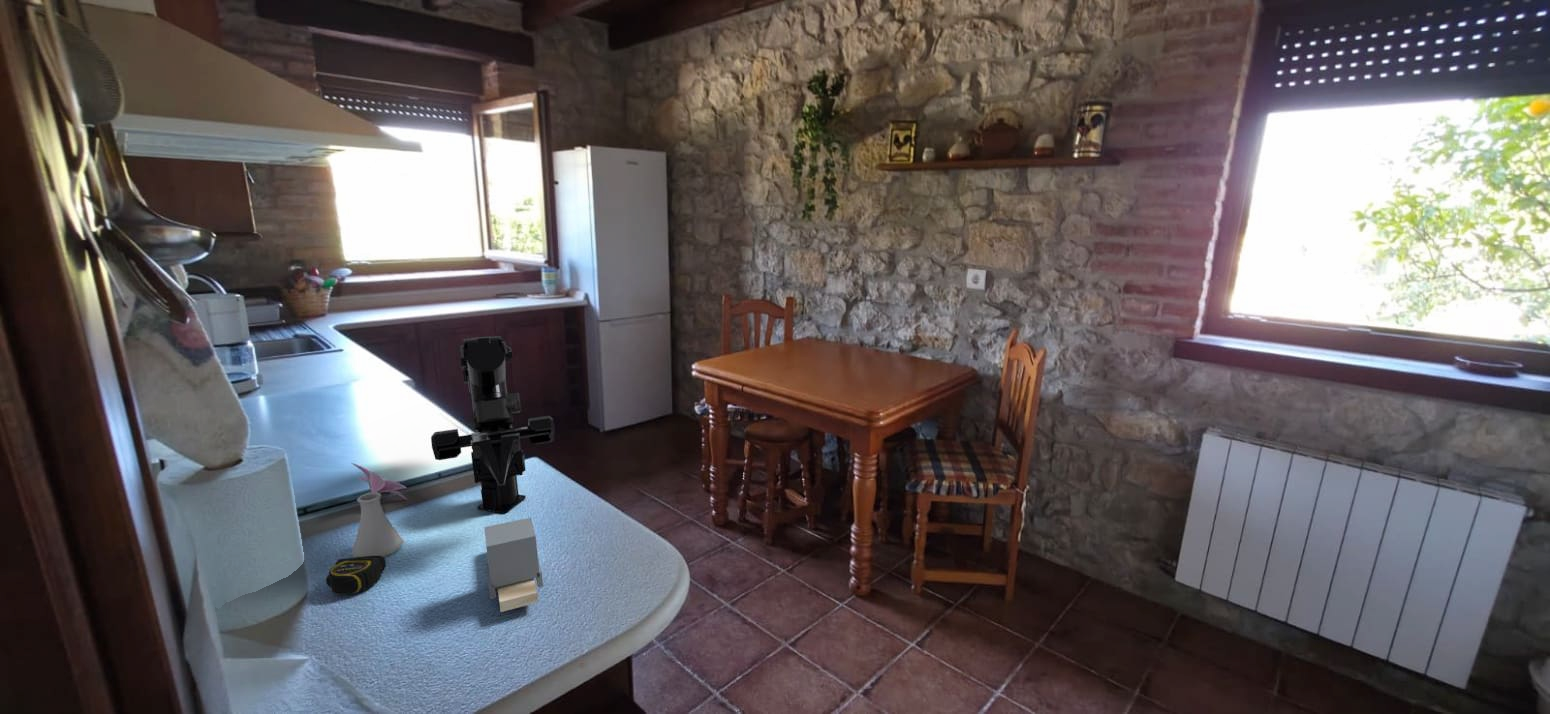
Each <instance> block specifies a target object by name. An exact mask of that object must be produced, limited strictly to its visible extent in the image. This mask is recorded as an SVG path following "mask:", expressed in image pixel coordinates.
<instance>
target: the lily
mask: <svg viewBox="0 0 1550 714" xmlns="http://www.w3.org/2000/svg"><path fill="white" fill-rule="evenodd" d="M351 464H352V465H353V466H355V467H356V468H357V469H358V470H360V471H361V472H362V473H363V474H364V475H365V476H366V477H365V476H359V477H358V479H359V480H361V481H364V482H367V483H368V485H369V488H370V492H378V493H380V494H381V493H387V492H391V493H392V494H395V495H396V496H399V497H401V498H403V500H406V501H407V500H408V499H407V498H406V497H405V495H403V494H402V493H400V492H399V491H397V490H402V489H408V487H407V486H405V485H403V484H401V483H399V482H397V481H395V480H391V479H388V478H387V477H388V476H387V477H386V476H382V477H381V476H380V475H379V474H377V473H376V472H371V471H370V470H368V469H367V468H365V467H363V466H362V465H358V464H356V463H354V462H353V463H352V462H351ZM384 477H385V478H384ZM391 493H390V494H391Z"/></svg>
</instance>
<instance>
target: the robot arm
mask: <svg viewBox="0 0 1550 714" xmlns="http://www.w3.org/2000/svg"><path fill="white" fill-rule="evenodd" d="M459 352H460V362H461V368H462V375H463V382H464V383H463V384H468V392H469V393H470V395H471V403H472V410H473V414H472V415H473V416H472V417H473V425H474V431H475V432H472V433H470V434H465V435H459V430H458V428H454V429H448V430H447V429H445V430H440V431H439V430H438V431H434V432H433V433H432V435H431V437H430V441H431V449H432V452H433V456H434V459H435V460H437V461H444V460H448V459H449V460H450V459H456V458H458V457H459V455H460V454H461V453H462V449H463V448H468V447H471V450H472V451H471V452H470V455H471V464H472V470H473V471H472V472H473V478H474V484H478V483H480V487H481V489H480V493H481V494H480V495H481V503H479V505H477V506H476V509H477V510H479V511H487V512H492V513H493V512H494V513H501V514H502V513H503V514H506V513H508V512H510V511H511V510H512V509H514V508H515V507H516V506H518V505H519V504H520V503H522V502H523V501H524V500H526V495H525V494H519V485H518V478H517V476H523V475H524V474H523V473H524V472H526V462H525V460H526V458H525V451H524V450H522V448H521V439H526V438H528V439H529V442H530V443H531V444H532V445H543V444H548V443H552V442H554V441H555V429H556V428H555V423H554V419H553V417H551V416H550V415H545V416H538V417H532V418H528V423H527V425H525V426H519V427H513V425H514V422H513V421H514V420H513V414H518V413H519V414H520V412H521V411H522V406H521V400H520V393H519V392H514V393H508V389H507V380H506V379H507V369H506V367H507V366H506V363H509V362H510V359H513V352H512V348H511V347H510V346H508V343H507V342H506V341H503V339H502V337H501V336H500V335H498V336H497V335H495V336H482V337H480V336H479V337H471V338H464V339H463V345H460V346H459Z"/></svg>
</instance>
